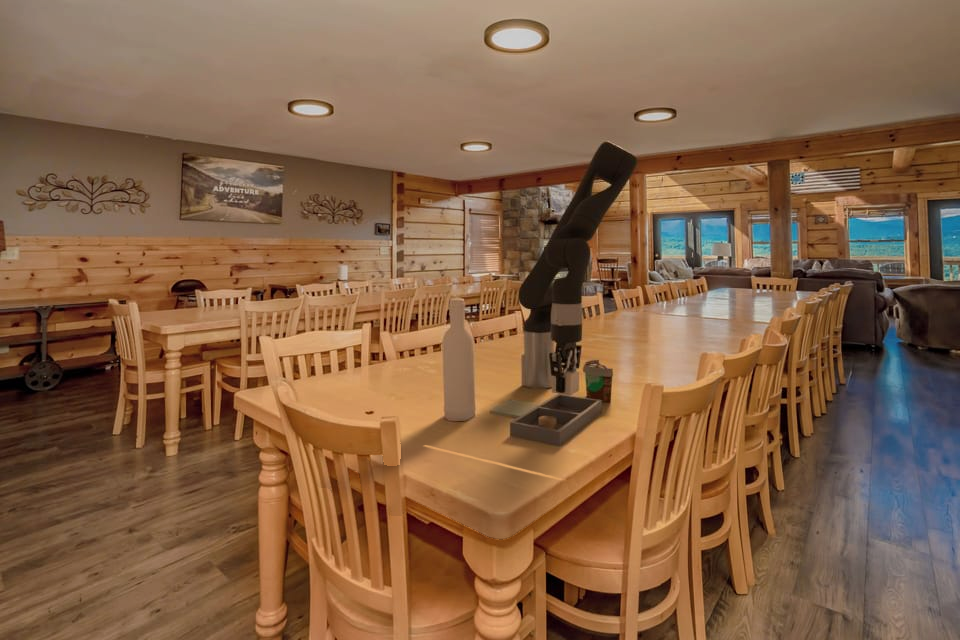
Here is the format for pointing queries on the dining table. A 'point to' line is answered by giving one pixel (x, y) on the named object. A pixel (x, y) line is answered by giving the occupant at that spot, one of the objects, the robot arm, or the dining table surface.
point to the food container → (598, 381)
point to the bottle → (458, 366)
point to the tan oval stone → (547, 422)
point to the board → (513, 408)
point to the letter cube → (568, 383)
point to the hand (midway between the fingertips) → (565, 389)
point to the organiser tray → (568, 416)
